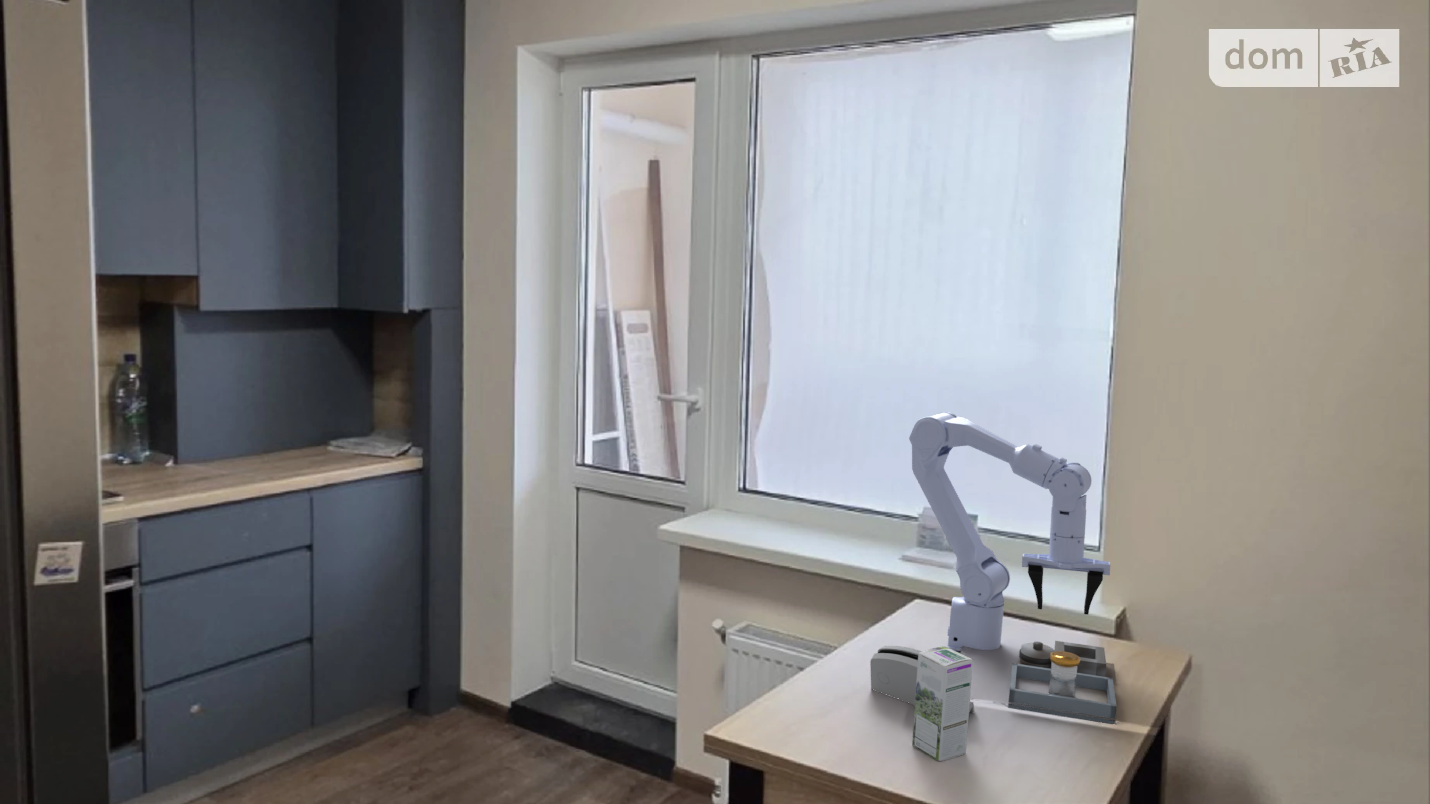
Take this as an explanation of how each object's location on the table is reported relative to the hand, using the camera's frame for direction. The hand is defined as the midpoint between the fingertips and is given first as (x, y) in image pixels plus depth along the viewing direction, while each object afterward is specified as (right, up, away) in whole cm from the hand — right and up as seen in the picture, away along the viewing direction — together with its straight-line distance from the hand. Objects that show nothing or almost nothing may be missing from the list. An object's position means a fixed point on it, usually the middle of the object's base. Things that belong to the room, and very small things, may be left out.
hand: (1062, 610), depth 189 cm
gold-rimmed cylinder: (-4, -12, -13) cm, 18 cm away
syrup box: (-28, -14, -33) cm, 46 cm away
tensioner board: (0, -11, -1) cm, 11 cm away
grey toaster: (-28, -12, -16) cm, 35 cm away
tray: (-5, -12, -13) cm, 19 cm away
